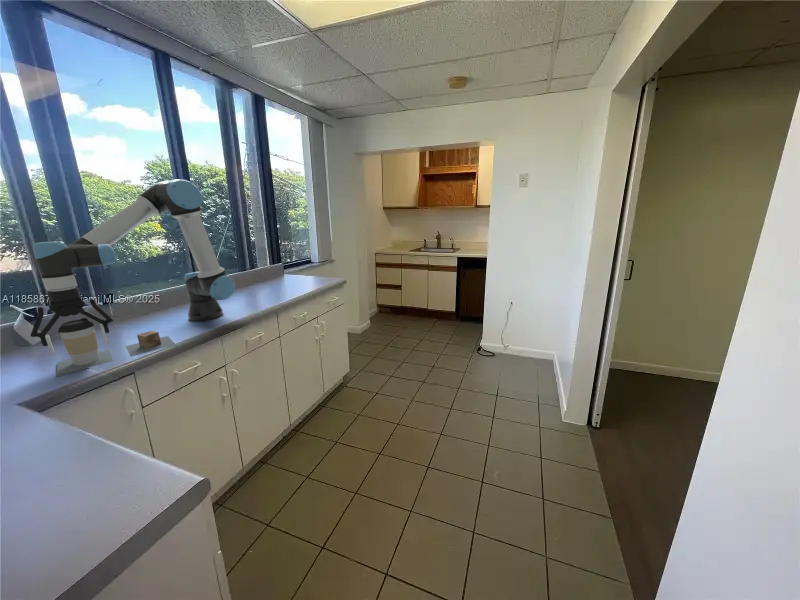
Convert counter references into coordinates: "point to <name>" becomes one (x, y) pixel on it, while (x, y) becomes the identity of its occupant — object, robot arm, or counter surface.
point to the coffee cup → (80, 341)
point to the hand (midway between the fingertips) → (80, 347)
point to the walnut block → (149, 339)
